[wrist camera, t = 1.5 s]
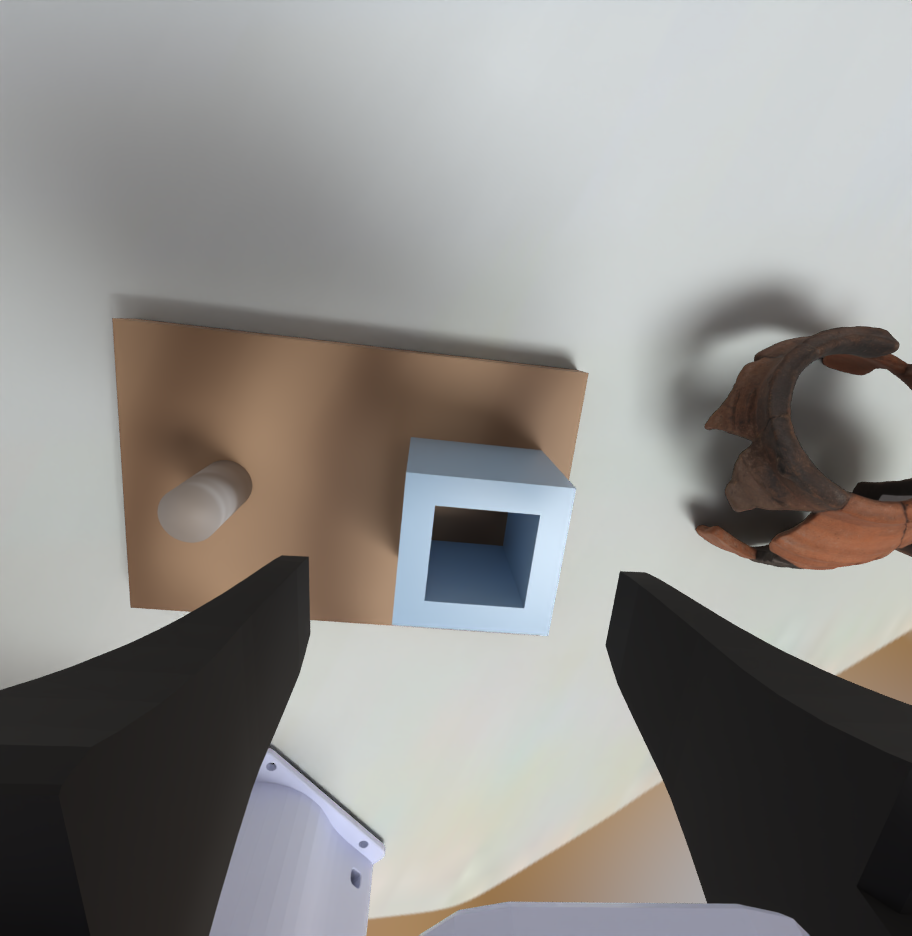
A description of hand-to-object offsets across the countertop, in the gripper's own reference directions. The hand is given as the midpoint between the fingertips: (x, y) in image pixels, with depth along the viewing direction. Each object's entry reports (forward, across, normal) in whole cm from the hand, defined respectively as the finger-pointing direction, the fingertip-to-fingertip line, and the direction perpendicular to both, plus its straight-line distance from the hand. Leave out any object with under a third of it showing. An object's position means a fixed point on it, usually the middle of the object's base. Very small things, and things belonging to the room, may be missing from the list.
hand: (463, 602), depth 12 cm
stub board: (+11, +4, +1) cm, 12 cm away
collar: (+10, -1, +2) cm, 10 cm away
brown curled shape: (+12, -15, -1) cm, 19 cm away
